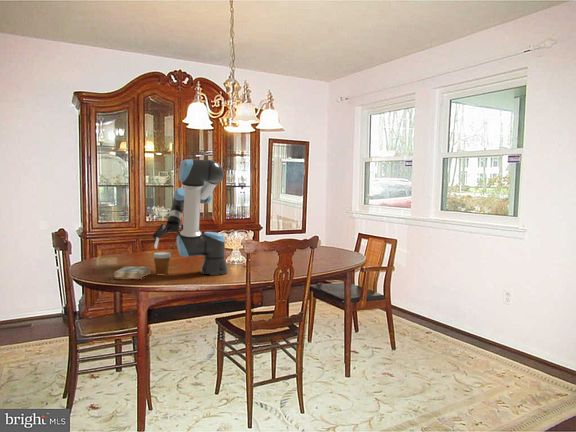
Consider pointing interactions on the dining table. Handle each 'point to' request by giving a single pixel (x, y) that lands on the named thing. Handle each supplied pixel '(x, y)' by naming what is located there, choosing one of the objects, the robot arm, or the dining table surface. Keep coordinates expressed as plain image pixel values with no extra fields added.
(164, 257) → the disposable coffee cup
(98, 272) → the dining table surface
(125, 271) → the birch base block
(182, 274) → the dining table surface
